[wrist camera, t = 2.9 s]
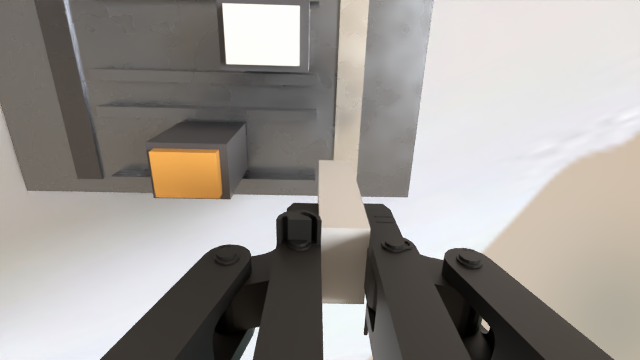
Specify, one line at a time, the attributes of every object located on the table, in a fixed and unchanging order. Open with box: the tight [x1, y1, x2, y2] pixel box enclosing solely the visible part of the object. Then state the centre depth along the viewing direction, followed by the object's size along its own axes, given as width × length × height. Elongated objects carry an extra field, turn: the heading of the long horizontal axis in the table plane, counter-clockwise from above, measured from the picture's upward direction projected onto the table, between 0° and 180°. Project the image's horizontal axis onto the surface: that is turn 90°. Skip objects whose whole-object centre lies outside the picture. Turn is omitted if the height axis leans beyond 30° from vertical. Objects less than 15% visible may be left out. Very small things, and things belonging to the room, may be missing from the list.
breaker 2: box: [216, 0, 310, 73], centre depth 17 cm, size 4×3×6 cm
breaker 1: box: [145, 122, 247, 199], centre depth 20 cm, size 4×3×6 cm
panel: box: [0, 0, 433, 197], centre depth 20 cm, size 26×20×2 cm
